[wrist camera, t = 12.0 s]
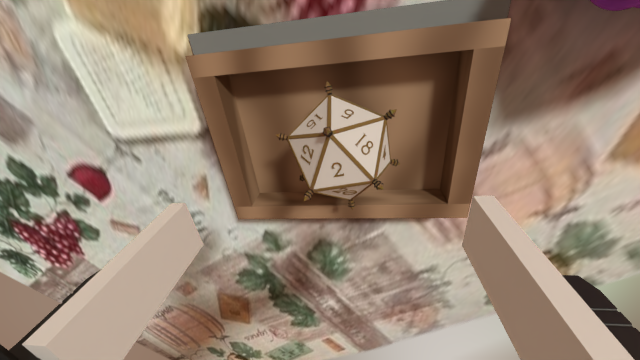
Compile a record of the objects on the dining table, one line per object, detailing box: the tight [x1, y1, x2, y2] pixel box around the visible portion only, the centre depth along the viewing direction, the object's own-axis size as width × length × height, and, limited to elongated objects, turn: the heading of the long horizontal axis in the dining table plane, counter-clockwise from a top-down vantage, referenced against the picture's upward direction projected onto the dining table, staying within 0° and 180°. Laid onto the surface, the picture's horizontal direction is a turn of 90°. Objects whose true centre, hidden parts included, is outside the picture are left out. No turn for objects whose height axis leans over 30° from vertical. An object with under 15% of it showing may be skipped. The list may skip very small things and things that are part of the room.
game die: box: [275, 81, 400, 210], centre depth 19 cm, size 9×8×10 cm
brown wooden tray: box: [185, 18, 511, 219], centre depth 22 cm, size 22×15×4 cm
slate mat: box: [188, 0, 511, 55], centre depth 23 cm, size 24×18×1 cm
